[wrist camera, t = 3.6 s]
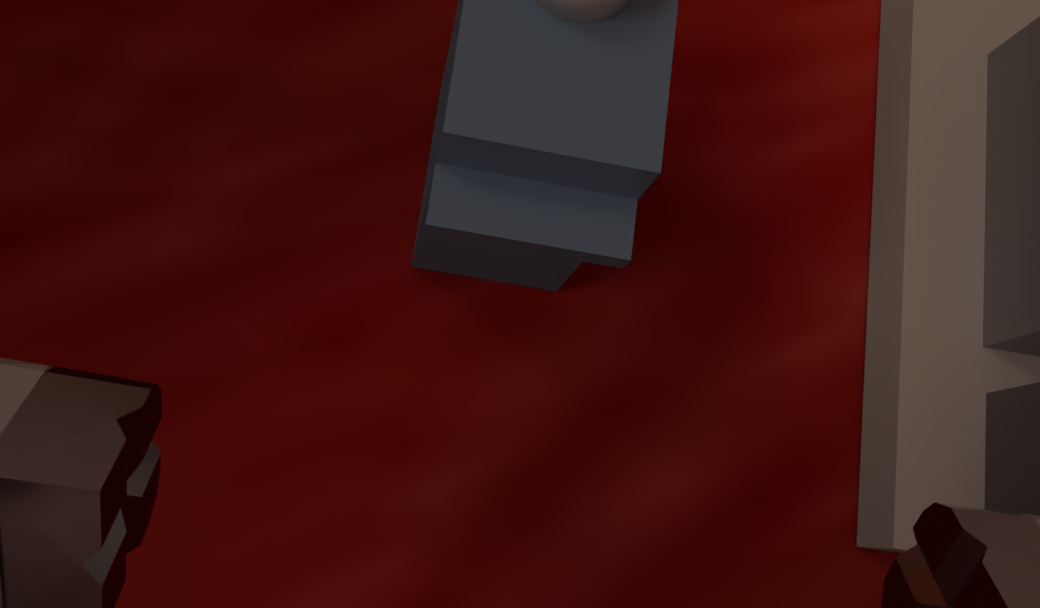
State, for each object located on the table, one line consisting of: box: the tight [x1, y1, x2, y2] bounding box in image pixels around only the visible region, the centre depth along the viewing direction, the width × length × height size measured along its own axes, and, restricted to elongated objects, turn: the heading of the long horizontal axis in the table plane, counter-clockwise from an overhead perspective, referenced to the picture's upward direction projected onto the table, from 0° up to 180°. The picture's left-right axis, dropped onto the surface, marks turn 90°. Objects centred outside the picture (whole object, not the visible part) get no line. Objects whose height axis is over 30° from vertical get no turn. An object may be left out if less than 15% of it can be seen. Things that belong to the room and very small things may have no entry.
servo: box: [411, 0, 678, 291], centre depth 18 cm, size 6×3×8 cm, turn 172°
